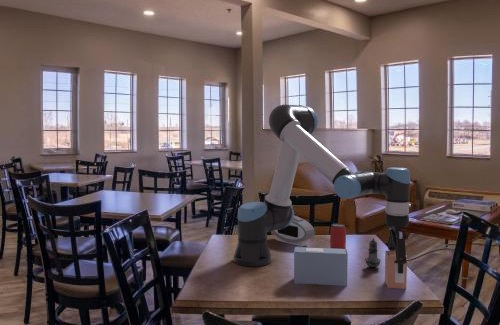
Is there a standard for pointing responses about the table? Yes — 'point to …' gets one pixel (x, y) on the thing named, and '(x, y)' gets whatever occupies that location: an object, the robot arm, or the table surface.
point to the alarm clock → (295, 232)
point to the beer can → (338, 236)
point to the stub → (393, 271)
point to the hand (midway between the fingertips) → (395, 275)
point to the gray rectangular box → (320, 266)
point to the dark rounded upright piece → (372, 256)
